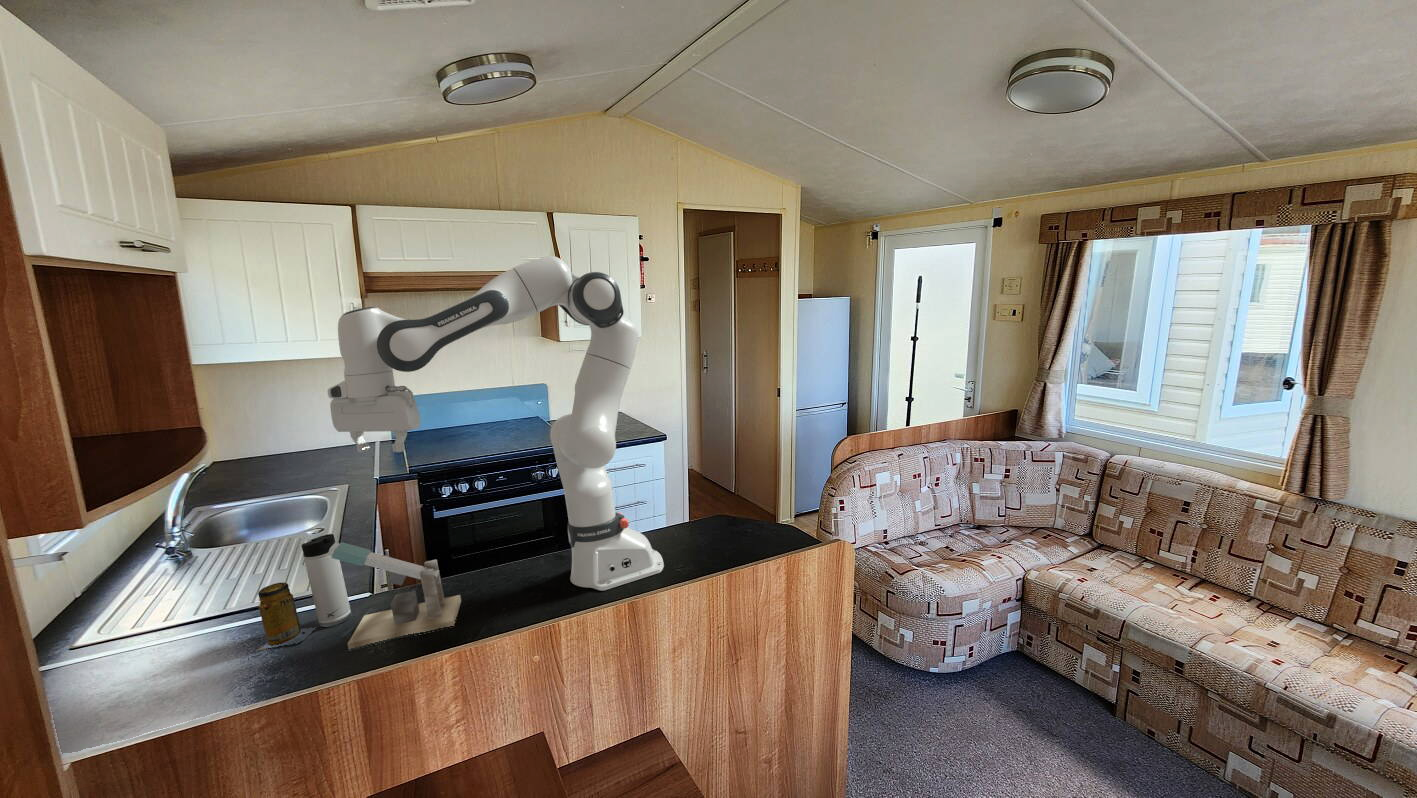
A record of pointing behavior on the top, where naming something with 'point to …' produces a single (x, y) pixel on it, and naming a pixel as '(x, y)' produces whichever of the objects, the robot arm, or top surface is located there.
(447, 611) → the press base
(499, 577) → the top surface
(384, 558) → the press lever
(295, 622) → the condiment
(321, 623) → the travel mug
